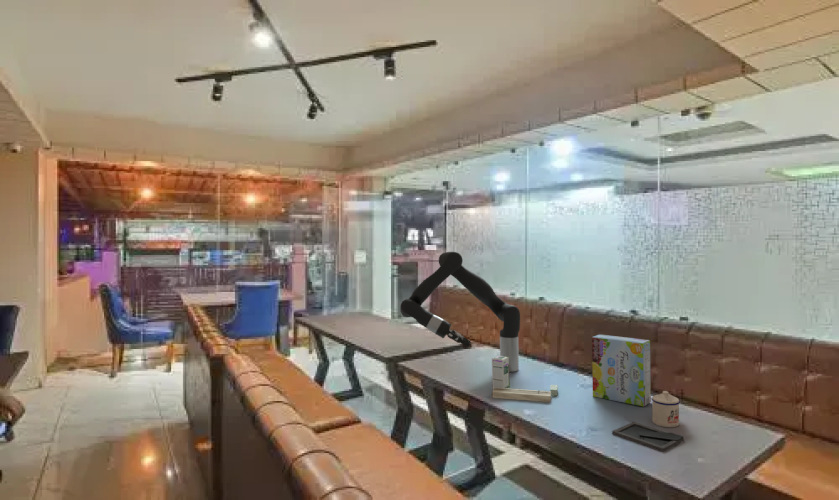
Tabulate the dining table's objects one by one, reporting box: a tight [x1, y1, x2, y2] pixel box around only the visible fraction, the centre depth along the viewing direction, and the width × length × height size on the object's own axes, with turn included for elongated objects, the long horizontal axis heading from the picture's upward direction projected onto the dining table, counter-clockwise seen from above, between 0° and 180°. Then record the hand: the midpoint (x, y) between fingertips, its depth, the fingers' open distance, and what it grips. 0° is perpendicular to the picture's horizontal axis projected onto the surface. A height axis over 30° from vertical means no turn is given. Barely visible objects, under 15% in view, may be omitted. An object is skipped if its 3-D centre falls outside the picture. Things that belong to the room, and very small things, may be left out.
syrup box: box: [491, 355, 511, 391], centre depth 225 cm, size 6×6×14 cm
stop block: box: [549, 384, 559, 397], centre depth 219 cm, size 7×3×2 cm, turn 163°
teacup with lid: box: [651, 390, 681, 428], centre depth 184 cm, size 12×9×12 cm
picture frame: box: [611, 421, 685, 453], centre depth 172 cm, size 13×2×18 cm
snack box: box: [591, 334, 652, 407], centre depth 209 cm, size 22×9×26 cm, turn 47°
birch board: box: [492, 388, 552, 403], centre depth 214 cm, size 6×24×3 cm, turn 73°
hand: (469, 344), depth 228 cm, fingers open, 8 cm apart
